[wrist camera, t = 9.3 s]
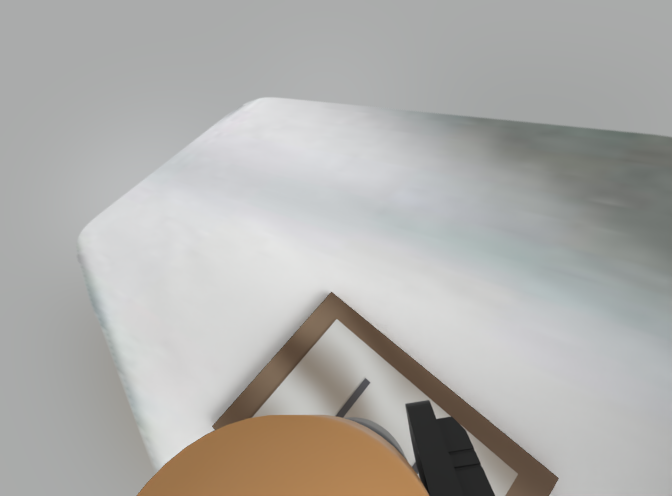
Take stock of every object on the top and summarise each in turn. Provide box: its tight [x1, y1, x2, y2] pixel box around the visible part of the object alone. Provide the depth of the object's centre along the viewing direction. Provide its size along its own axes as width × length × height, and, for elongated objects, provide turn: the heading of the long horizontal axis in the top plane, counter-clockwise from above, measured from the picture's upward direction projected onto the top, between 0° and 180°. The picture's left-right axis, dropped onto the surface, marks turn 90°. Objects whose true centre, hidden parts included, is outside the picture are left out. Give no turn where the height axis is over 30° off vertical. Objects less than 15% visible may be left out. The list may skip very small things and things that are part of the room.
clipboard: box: [212, 292, 559, 496], centre depth 24 cm, size 14×20×2 cm
